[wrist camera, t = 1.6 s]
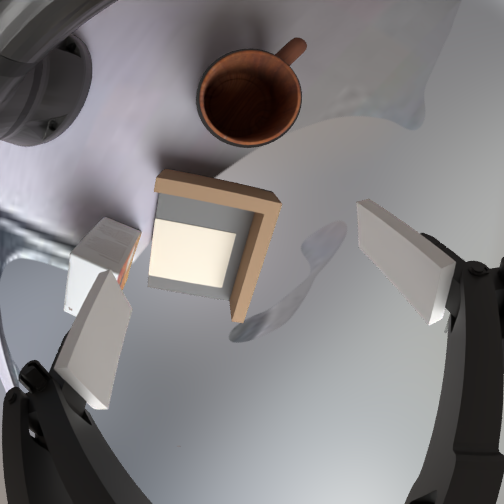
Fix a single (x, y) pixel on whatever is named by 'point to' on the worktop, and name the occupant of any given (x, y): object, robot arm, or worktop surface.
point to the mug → (251, 95)
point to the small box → (99, 260)
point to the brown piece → (210, 237)
